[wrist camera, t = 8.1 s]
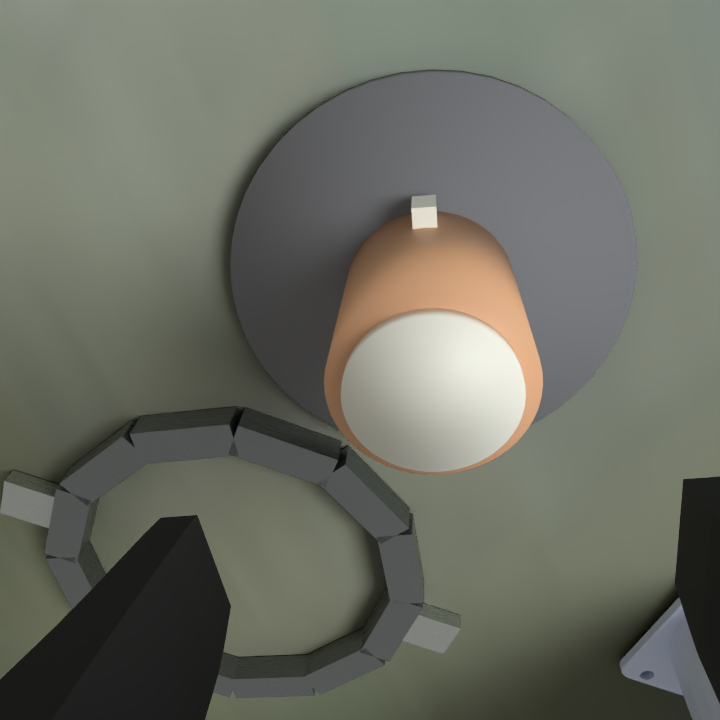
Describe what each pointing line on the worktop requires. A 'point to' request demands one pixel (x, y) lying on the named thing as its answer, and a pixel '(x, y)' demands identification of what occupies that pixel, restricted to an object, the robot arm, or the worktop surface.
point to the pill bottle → (432, 347)
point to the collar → (281, 453)
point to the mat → (453, 194)
